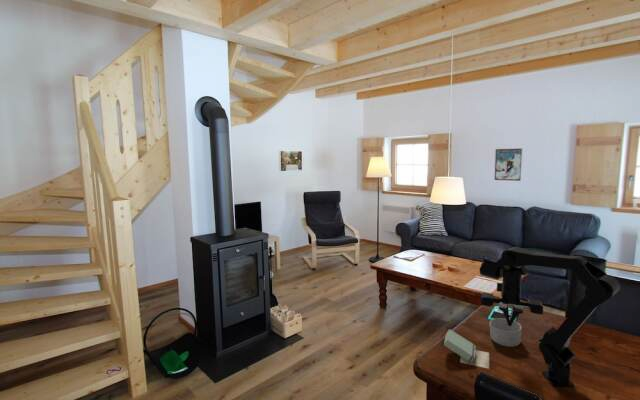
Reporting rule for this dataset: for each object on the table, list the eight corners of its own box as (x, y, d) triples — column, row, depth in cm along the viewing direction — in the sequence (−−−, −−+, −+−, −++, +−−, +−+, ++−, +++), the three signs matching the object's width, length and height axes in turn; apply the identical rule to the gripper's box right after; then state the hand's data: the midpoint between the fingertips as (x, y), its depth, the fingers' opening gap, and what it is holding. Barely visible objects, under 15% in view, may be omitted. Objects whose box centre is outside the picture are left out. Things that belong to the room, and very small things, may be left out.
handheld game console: (519, 312, 156) (520, 310, 156) (513, 327, 144) (513, 324, 144) (495, 307, 163) (495, 304, 162) (487, 320, 150) (487, 317, 150)
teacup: (513, 355, 124) (514, 334, 123) (483, 342, 132) (484, 323, 131) (528, 341, 133) (529, 321, 132) (499, 330, 141) (500, 312, 140)
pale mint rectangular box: (475, 345, 124) (449, 328, 127) (474, 357, 117) (447, 339, 120) (471, 350, 125) (446, 334, 128) (470, 363, 118) (443, 345, 121)
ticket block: (488, 356, 124) (489, 352, 123) (488, 372, 115) (489, 368, 114) (461, 350, 127) (462, 347, 127) (459, 366, 119) (460, 362, 118)
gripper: (540, 279, 122) (537, 320, 124) (482, 272, 130) (480, 311, 133) (544, 291, 112) (541, 335, 115) (482, 282, 120) (480, 324, 123)
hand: (509, 325), depth 121 cm, fingers closed
